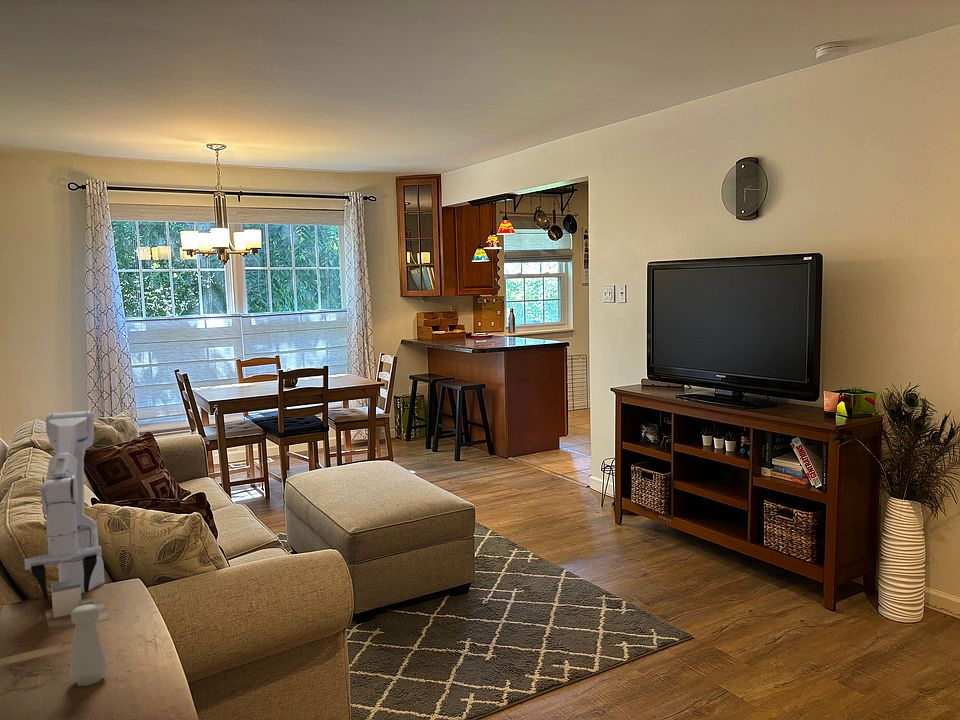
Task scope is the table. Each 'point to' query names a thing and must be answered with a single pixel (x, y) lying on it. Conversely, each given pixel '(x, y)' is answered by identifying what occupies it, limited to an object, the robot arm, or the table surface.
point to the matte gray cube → (65, 597)
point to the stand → (65, 620)
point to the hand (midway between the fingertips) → (66, 595)
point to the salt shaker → (87, 647)
